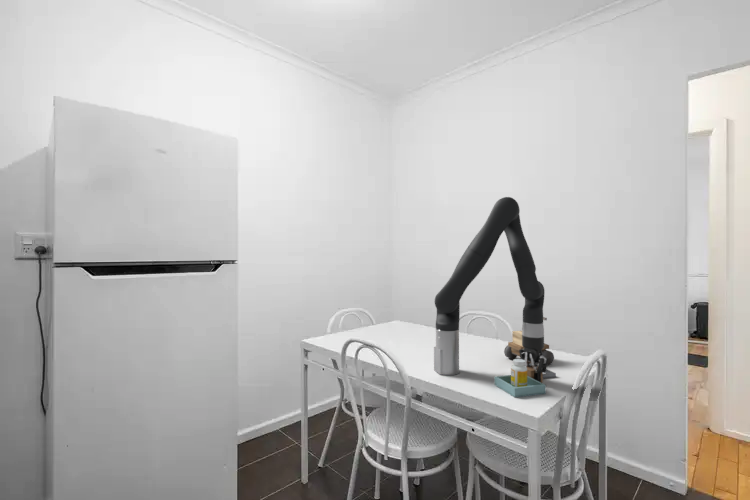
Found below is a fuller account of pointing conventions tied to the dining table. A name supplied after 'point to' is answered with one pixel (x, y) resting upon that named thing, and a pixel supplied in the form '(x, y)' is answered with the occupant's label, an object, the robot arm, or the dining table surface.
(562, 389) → the dining table surface
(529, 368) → the block
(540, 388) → the tray
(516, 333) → the trolley
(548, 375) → the square frame
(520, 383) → the supplement bottle
